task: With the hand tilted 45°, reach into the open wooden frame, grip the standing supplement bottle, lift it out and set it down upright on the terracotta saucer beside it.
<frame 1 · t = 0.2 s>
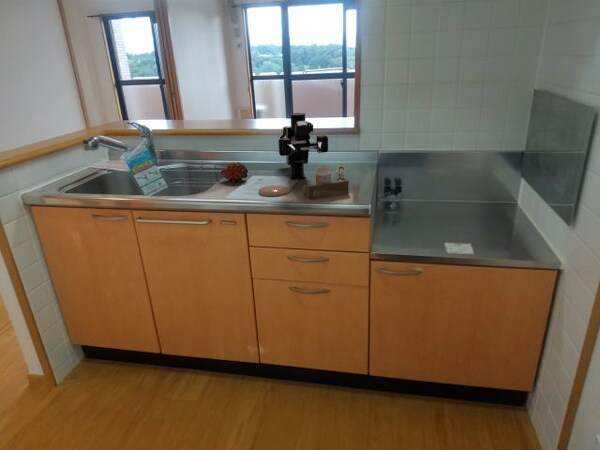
hand: (307, 150, 149), 17 cm above the countertop, tool horizontal, fingers open, 9 cm apart
red spiky round lump: (235, 181, 177), on the countertop
terracotta saucer: (274, 191, 160), on the countertop
open wooden frame: (323, 193, 156), on the countertop
supplement bottle: (323, 193, 156), on the countertop
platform: (341, 181, 172), on the countertop
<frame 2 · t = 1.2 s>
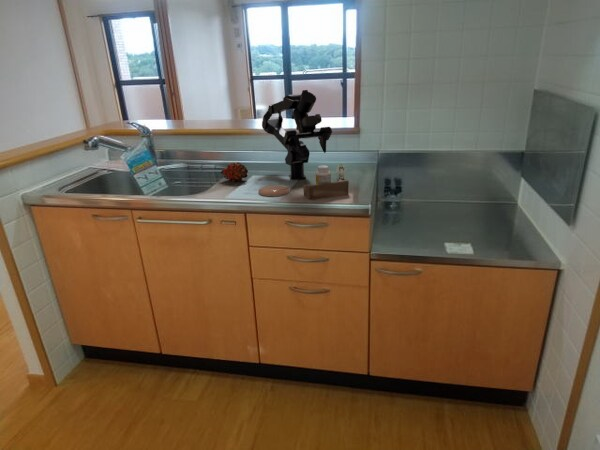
hand: (314, 153, 158), 14 cm above the countertop, tool tilted 45°, fingers open, 9 cm apart
nothing on the countertop moved.
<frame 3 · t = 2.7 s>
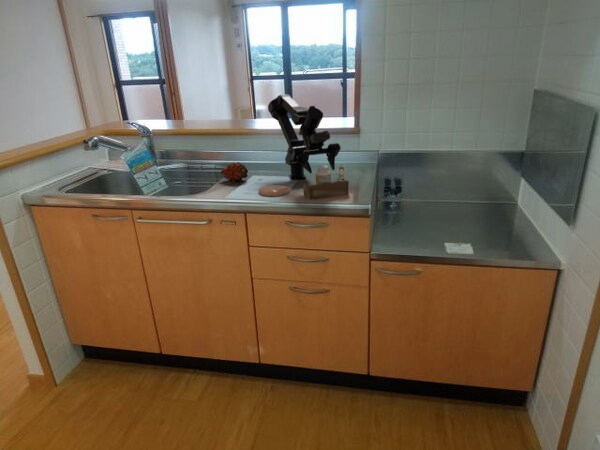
hand: (322, 171, 153), 8 cm above the countertop, tool tilted 45°, fingers open, 9 cm apart
nothing on the countertop moved.
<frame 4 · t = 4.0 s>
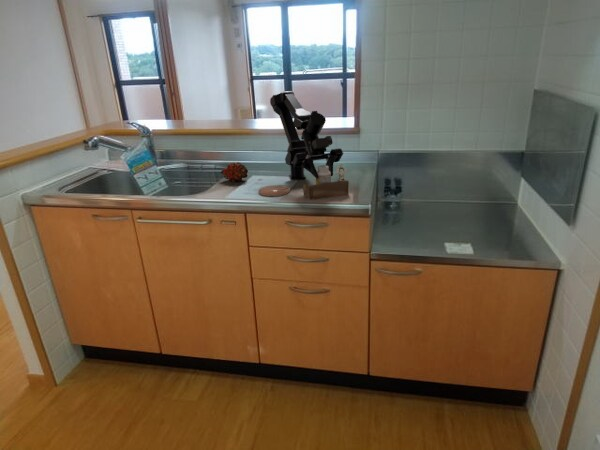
hand: (324, 176, 152), 7 cm above the countertop, tool tilted 45°, fingers closed on supplement bottle, 5 cm apart
supplement bottle: (323, 193, 156), on the countertop, touching gripper
everything else where it was.
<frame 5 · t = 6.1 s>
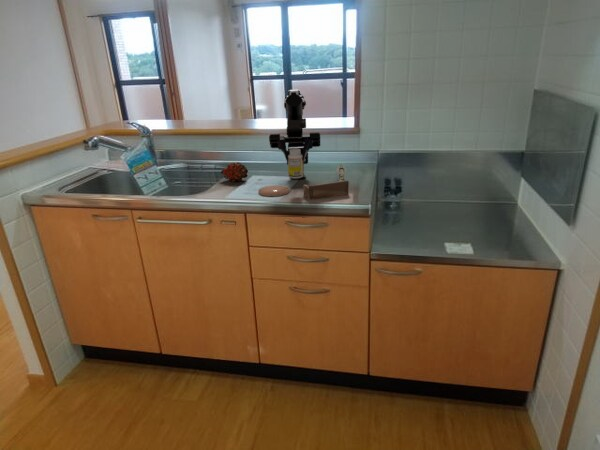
hand: (295, 159, 150), 13 cm above the countertop, tool tilted 45°, fingers closed on supplement bottle, 6 cm apart
supplement bottle: (296, 177, 154), point 6 cm above the countertop, touching gripper
when the fingers open (9 cm above the countertop, at t = 8.4 s): supplement bottle stays where it is, resting on terracotta saucer.
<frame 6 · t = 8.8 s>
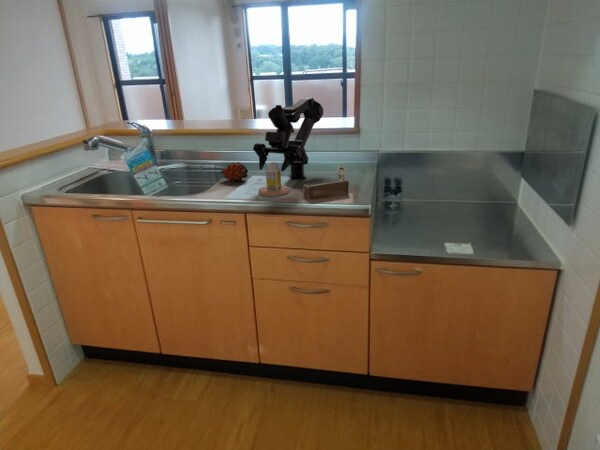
hand: (271, 170, 155), 9 cm above the countertop, tool tilted 45°, fingers open, 9 cm apart
supplement bottle: (274, 190, 160), point 1 cm above the countertop, touching terracotta saucer
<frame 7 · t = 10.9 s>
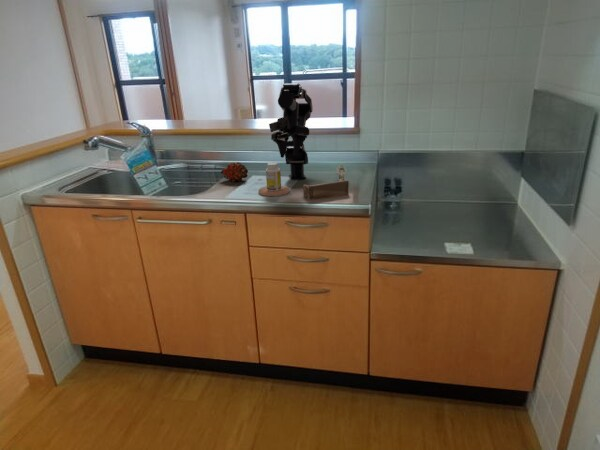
hand: (288, 156, 160), 12 cm above the countertop, tool tilted 25°, fingers open, 9 cm apart
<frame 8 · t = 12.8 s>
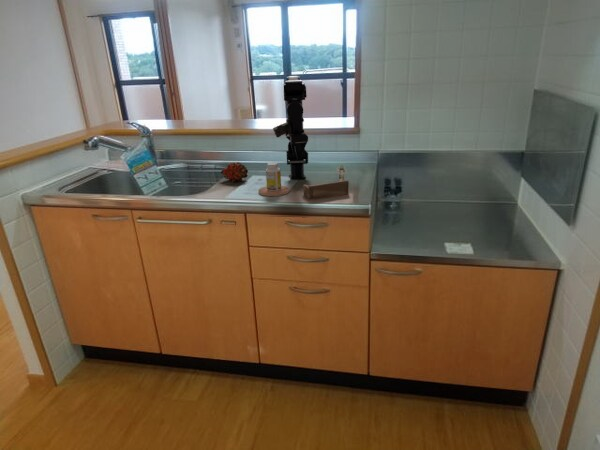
hand: (296, 157, 160), 12 cm above the countertop, tool pointing down, fingers open, 9 cm apart
at the end: supplement bottle 0.2 cm off-centre on the terracotta saucer, point 0.6 cm above the terracotta saucer's base; supplement bottle tilted 0°; the gripper is holding nothing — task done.
